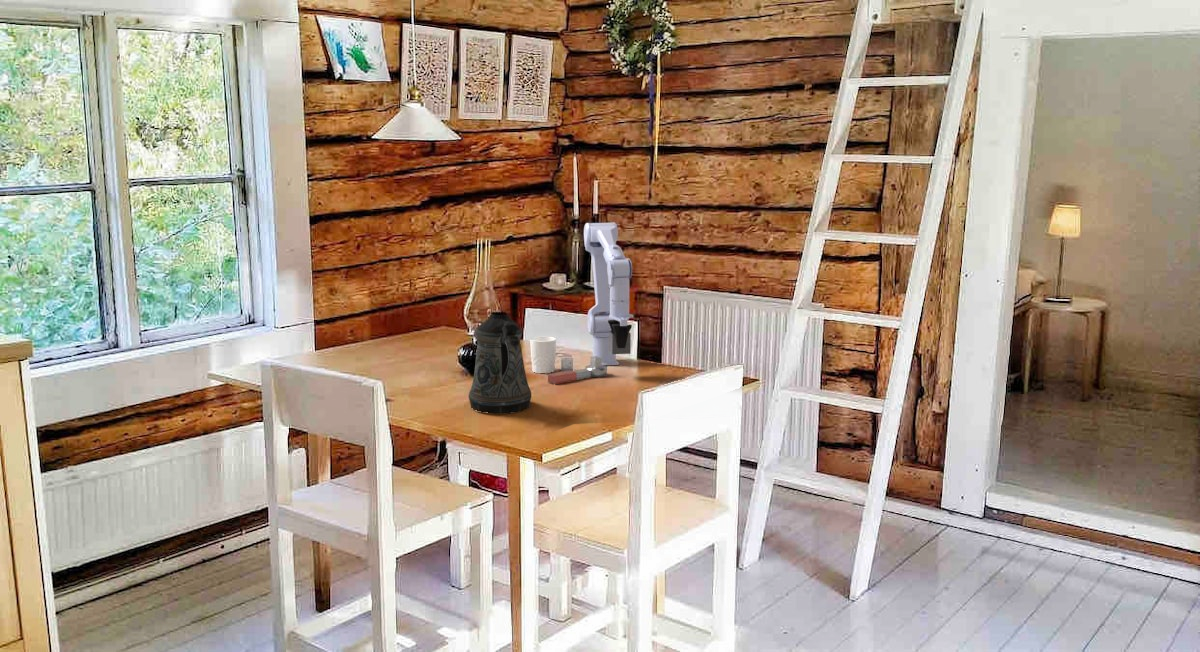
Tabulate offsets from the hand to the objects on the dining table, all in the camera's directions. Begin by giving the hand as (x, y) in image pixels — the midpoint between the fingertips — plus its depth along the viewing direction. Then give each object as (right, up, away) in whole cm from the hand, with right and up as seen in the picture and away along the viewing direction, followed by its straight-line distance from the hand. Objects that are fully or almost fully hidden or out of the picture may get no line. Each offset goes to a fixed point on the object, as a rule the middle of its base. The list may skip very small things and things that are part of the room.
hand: (619, 345), depth 294 cm
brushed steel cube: (0, -2, 0) cm, 2 cm away
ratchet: (-12, -10, 0) cm, 15 cm away
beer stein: (-31, -16, -31) cm, 47 cm away
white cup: (-23, -8, +10) cm, 26 cm away
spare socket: (-16, -8, +9) cm, 20 cm away
